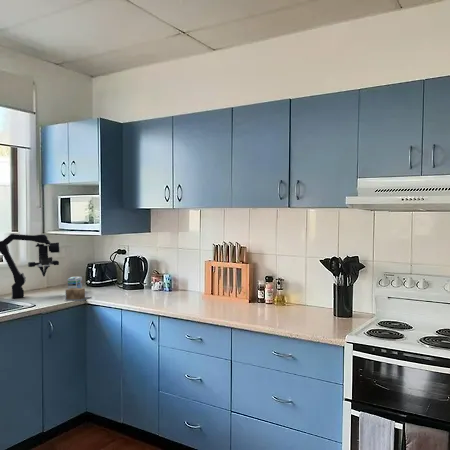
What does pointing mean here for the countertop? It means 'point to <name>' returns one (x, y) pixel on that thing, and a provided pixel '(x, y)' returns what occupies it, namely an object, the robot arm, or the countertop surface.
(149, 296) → the countertop surface
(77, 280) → the light bulb box
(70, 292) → the walnut block
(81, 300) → the rubber mat
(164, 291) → the countertop surface
